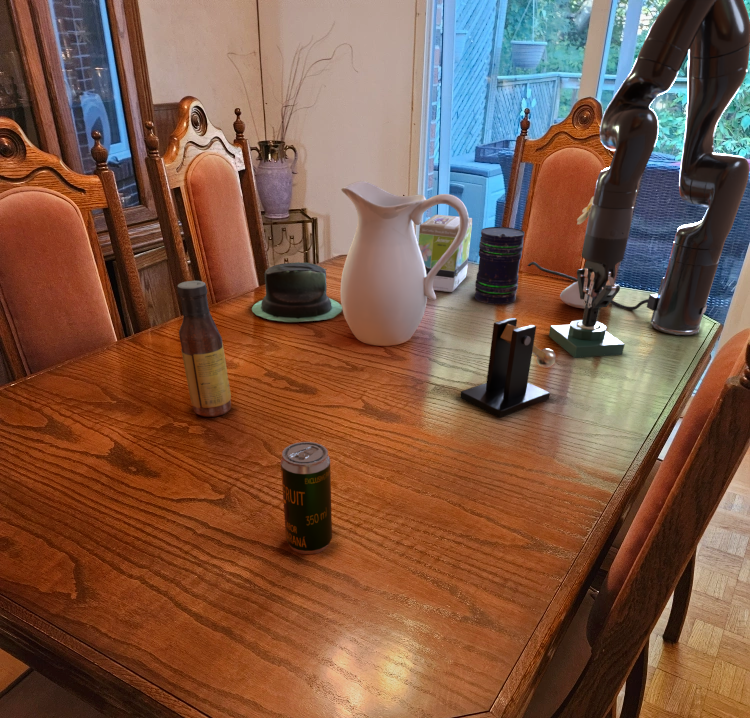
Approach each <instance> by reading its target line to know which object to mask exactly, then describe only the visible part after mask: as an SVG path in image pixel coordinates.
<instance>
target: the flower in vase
mask: <svg viewBox="0 0 750 718" xmlns="http://www.w3.org/2000/svg"><path fill="white" fill-rule="evenodd" d="M593 199H594V195H593V196H592V197H591V198H590V200H589V203H588V204H587V206H586V207H584V208H583V209H582V214H581V215H580V216H579V217H578V218H577V219H576V221H577V223H576V225H581V224H583V223H584V222H585V221H586V220H587V218H589V214H590V211H591V208H592V204H593ZM559 298H560V301H561V302H562V303H564V304H566V305H568V306H570V307H573V308H577V309H583V310H585V305H584V300H583V299H580V293H579V286H578V281H577V282H575V281H574V282H573V283H572V284H570V285H569V286H567V287H566V288H564V289H563V290H562V291H561V292H560V295H559ZM602 308H603V307H601V308H600V309H602Z"/></svg>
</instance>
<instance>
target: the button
mask: <svg viewBox="0 0 750 718" xmlns="http://www.w3.org/2000/svg"><path fill="white" fill-rule="evenodd" d="M578 327H579V328H582V329H588V330H597V329H598V328H599V325H597V324H596V325H595V326H593V327H586V326H584V325H583V324H582V322H580V323H578Z"/></svg>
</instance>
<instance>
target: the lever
mask: <svg viewBox="0 0 750 718" xmlns="http://www.w3.org/2000/svg"><path fill="white" fill-rule="evenodd" d="M518 328H519V326H517V325H516V326H513V325H510V324H507V326H506V327H505V329H504V331H503V333H502V335H501V338H502V339H503V340H505V341H506V342H508V343H509V344H511V338H512V331H513V330H515V329H518ZM532 355H534V356H536V363H537V365H539V367H541V368H545V369H546V368H550V367H552V366H553V365H554V364H555V363H556V359H557V355H556V353H555V352H554V350H553V349H551V348H542V349H540V348H538V346H536V345H533V351H532Z"/></svg>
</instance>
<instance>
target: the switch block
mask: <svg viewBox="0 0 750 718" xmlns="http://www.w3.org/2000/svg"><path fill="white" fill-rule="evenodd" d="M582 320H583V319H575V320H572V321H571V322H570V324H557V325H550V327H549V331H548V337H549V338H550V339H551V340H553V342H555V344H557V345H559V346H560V347H561V348H562V349H563V350H565V351H566V352H567V353H568V354H569V355H571V356H572V357H573V358H574V359H578V358H595V357H609V356H610V357H611V356H623V352H624V350H625V349H624V348H625V345H626V344H625V343H624V342H623V341H621V340H620V339H619V338H617V337H615V336H614V335H612V334H611V333H610V332H608V331H607V326H606V325H605V324H604V323H602V322H600V321H596V324H597V325H599V328H598V329H597V330H588V329H582V328H579V327H578V323H580V322H582Z"/></svg>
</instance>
